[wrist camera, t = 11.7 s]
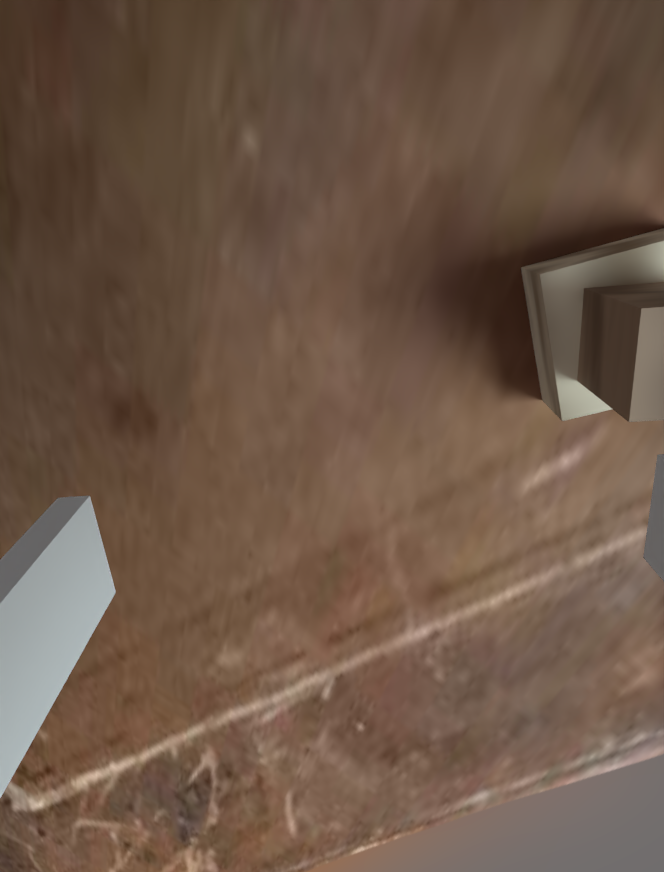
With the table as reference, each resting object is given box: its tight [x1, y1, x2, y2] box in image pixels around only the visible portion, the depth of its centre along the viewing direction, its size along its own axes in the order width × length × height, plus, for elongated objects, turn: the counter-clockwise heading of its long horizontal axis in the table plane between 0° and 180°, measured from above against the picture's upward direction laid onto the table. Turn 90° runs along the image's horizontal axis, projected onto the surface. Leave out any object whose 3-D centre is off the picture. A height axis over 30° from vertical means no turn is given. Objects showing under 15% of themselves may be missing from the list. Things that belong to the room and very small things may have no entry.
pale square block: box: [521, 228, 664, 421], centre depth 40 cm, size 10×10×5 cm
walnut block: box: [577, 282, 664, 422], centre depth 34 cm, size 6×6×8 cm
